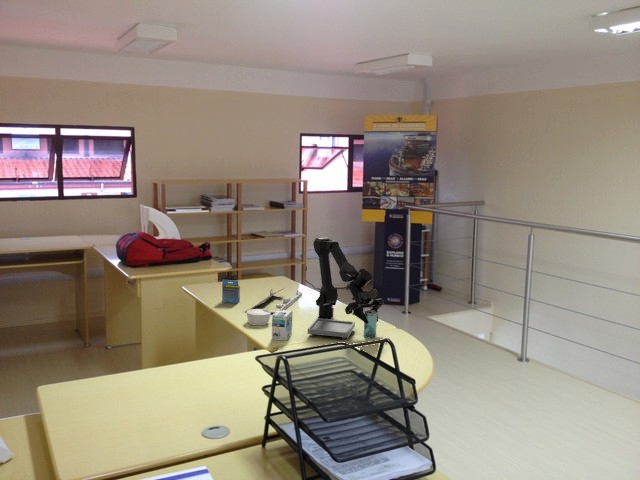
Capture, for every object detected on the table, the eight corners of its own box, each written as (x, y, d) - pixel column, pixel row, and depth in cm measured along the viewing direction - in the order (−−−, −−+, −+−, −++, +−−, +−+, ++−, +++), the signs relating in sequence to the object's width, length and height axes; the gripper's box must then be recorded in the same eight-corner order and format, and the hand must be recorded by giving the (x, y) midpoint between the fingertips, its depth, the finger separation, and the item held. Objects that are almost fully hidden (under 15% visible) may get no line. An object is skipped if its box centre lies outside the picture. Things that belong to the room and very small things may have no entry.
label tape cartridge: (240, 301, 319) (240, 278, 318) (238, 303, 315) (238, 280, 314) (223, 300, 320) (224, 278, 318) (221, 302, 316) (222, 279, 315)
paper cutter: (302, 296, 337) (302, 286, 336) (277, 316, 294) (277, 305, 293) (271, 293, 341) (271, 284, 341) (243, 313, 298) (243, 302, 298)
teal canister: (362, 337, 265) (363, 313, 263) (364, 333, 270) (365, 309, 268) (375, 338, 263) (376, 314, 262) (376, 334, 269) (378, 311, 267)
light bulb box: (286, 340, 256) (286, 316, 254) (271, 339, 257) (271, 315, 256) (292, 333, 266) (293, 310, 265) (277, 332, 268) (278, 308, 266)
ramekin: (275, 323, 281) (275, 312, 280) (255, 327, 274) (255, 316, 273) (261, 318, 289) (261, 307, 289) (241, 321, 282) (242, 310, 281)
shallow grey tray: (307, 337, 261) (307, 329, 261) (316, 326, 279) (316, 318, 278) (348, 341, 258) (348, 333, 257) (354, 329, 275) (354, 321, 275)
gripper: (350, 285, 261) (364, 315, 254) (382, 281, 272) (397, 310, 264) (338, 298, 269) (352, 328, 261) (370, 294, 279) (385, 323, 272)
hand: (372, 322), depth 265 cm, fingers closed on teal canister, 5 cm apart
